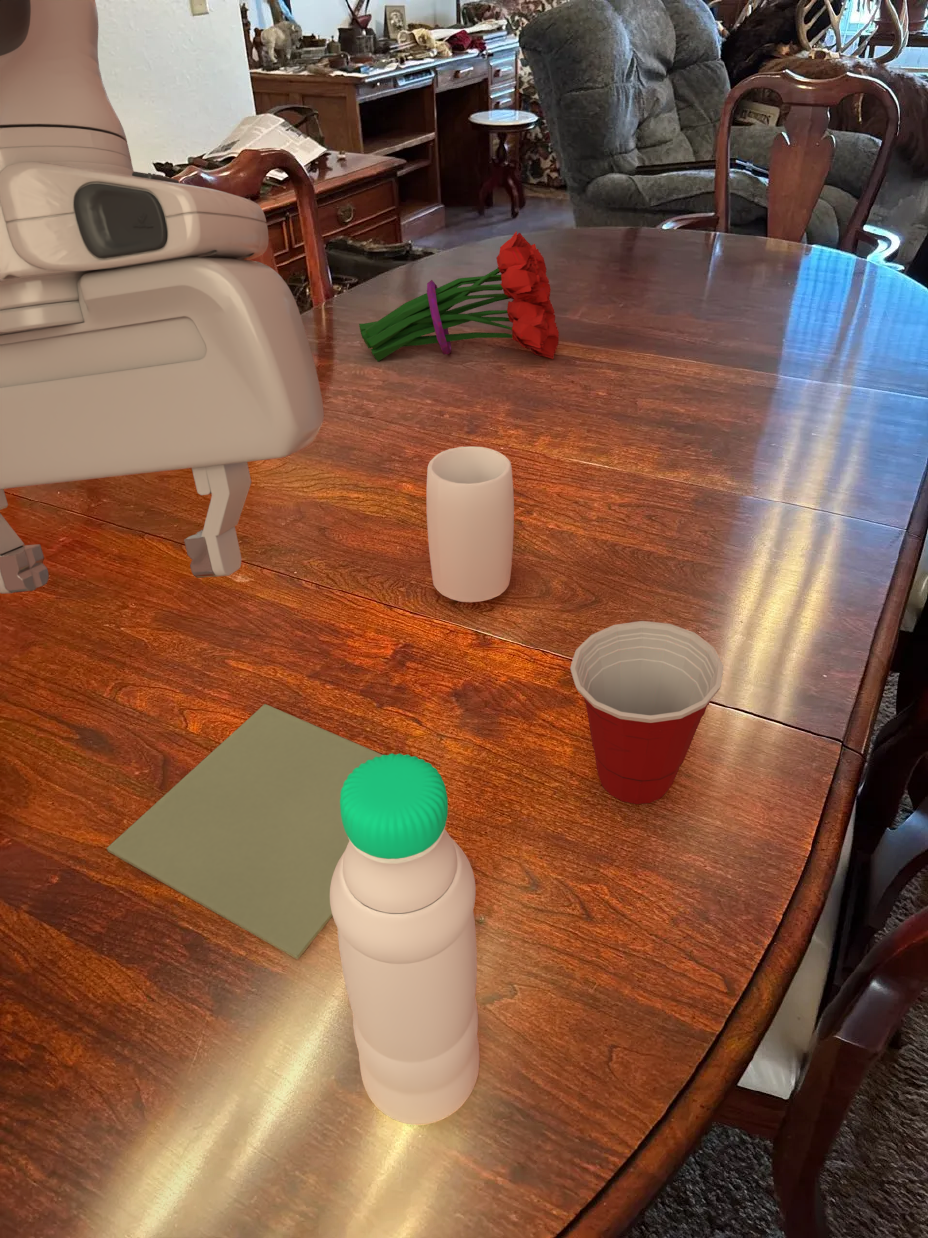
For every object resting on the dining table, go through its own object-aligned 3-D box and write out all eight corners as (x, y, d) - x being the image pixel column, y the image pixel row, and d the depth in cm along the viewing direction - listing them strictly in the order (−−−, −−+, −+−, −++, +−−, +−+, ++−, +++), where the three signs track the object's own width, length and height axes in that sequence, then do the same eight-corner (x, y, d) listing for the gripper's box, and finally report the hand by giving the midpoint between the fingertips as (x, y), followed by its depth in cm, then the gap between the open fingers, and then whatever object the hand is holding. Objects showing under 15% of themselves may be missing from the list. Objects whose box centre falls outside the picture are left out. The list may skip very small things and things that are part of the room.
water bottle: (361, 1136, 52) (306, 857, 37) (362, 1018, 58) (314, 733, 43) (485, 1124, 53) (481, 843, 37) (474, 1007, 58) (466, 722, 43)
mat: (297, 960, 61) (296, 956, 61) (107, 851, 69) (106, 848, 68) (440, 782, 73) (439, 779, 73) (265, 706, 81) (264, 703, 80)
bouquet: (379, 374, 154) (556, 331, 150) (374, 417, 141) (568, 371, 137) (342, 256, 142) (533, 206, 138) (333, 291, 129) (543, 236, 125)
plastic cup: (563, 725, 78) (571, 613, 71) (693, 732, 77) (714, 619, 70) (562, 826, 70) (570, 710, 62) (708, 835, 69) (733, 718, 61)
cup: (530, 589, 94) (533, 464, 85) (470, 625, 89) (467, 497, 81) (473, 556, 99) (470, 435, 90) (413, 588, 94) (405, 464, 86)
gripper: (-262, 277, 35) (-138, 621, 39) (232, 185, 30) (311, 587, 34) (-130, 278, 41) (-34, 577, 45) (301, 200, 36) (362, 543, 40)
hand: (119, 581), depth 40 cm, fingers open, 8 cm apart
